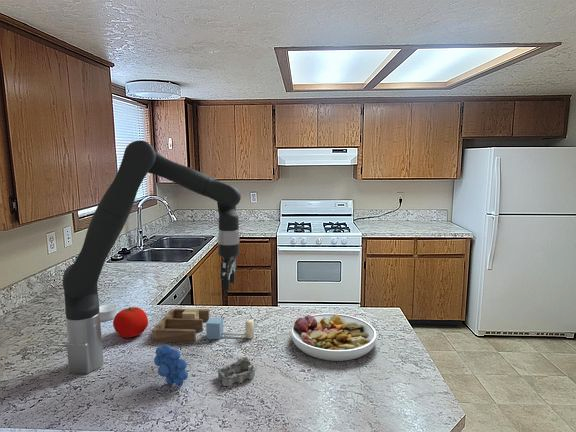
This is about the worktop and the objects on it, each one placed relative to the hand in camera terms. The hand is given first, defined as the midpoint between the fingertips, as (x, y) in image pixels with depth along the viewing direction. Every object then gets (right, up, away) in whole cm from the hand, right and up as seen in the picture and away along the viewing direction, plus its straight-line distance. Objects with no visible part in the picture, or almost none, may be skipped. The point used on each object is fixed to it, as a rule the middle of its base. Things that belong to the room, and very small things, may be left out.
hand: (228, 285), depth 137 cm
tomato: (-37, -20, +5) cm, 42 cm away
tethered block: (0, -19, +3) cm, 19 cm away
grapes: (-13, -24, -27) cm, 39 cm away
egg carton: (+6, -24, -23) cm, 34 cm away
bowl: (+38, -21, -1) cm, 43 cm away
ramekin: (-54, -17, +21) cm, 61 cm away
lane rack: (-18, -19, +9) cm, 28 cm away
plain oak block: (-17, -18, +13) cm, 28 cm away
